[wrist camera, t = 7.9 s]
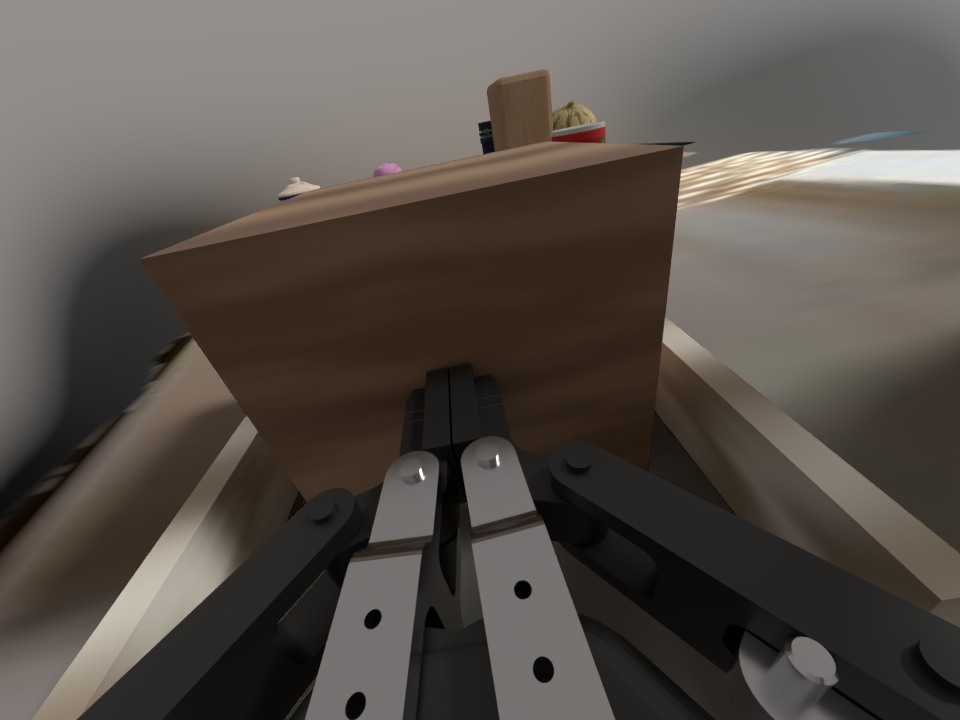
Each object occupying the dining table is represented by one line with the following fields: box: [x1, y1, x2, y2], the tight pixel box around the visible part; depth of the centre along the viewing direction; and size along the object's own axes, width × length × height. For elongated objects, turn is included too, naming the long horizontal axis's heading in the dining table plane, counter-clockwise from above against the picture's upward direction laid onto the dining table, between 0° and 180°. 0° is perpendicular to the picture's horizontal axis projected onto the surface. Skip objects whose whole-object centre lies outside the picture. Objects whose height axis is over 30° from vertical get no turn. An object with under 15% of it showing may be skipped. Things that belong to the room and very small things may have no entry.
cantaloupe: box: [552, 101, 597, 131], centre depth 91 cm, size 15×15×15 cm
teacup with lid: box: [278, 177, 321, 202], centre depth 79 cm, size 12×9×12 cm
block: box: [487, 69, 553, 152], centre depth 72 cm, size 10×10×20 cm
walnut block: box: [140, 141, 684, 506], centre depth 18 cm, size 14×14×12 cm
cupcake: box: [373, 163, 402, 177], centre depth 107 cm, size 9×9×10 cm
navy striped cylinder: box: [478, 121, 495, 154], centre depth 118 cm, size 10×10×15 cm
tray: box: [32, 317, 960, 720], centre depth 27 cm, size 45×20×5 cm, turn 5°
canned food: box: [551, 121, 605, 143], centre depth 58 cm, size 8×8×11 cm
